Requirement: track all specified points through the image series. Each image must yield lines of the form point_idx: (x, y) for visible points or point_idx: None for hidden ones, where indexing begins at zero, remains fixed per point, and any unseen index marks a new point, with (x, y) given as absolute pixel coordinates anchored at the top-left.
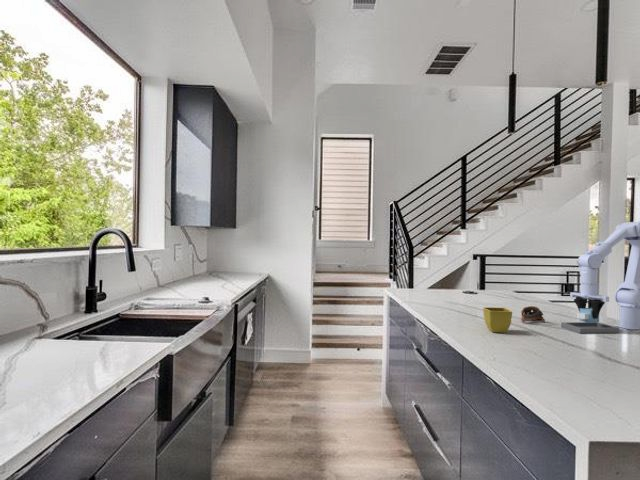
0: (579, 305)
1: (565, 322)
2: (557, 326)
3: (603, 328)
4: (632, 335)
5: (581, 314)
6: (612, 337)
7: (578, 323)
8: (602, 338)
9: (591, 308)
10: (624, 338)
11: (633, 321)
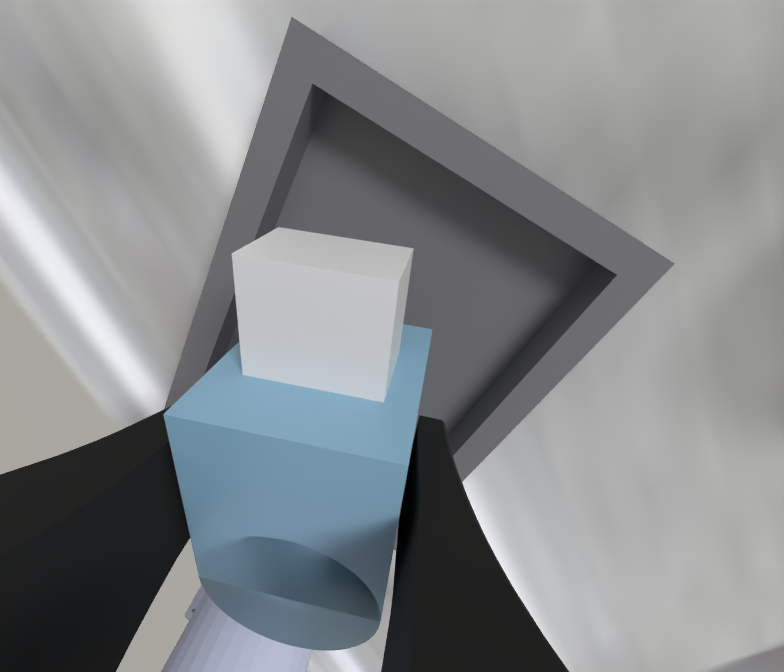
0: (430, 563)
1: (621, 311)
2: (699, 259)
3: (195, 316)
4: (104, 397)
5: (308, 257)
6: (78, 179)
7: (493, 406)
8: (58, 9)
9: (312, 607)
10: (27, 232)
11: (195, 623)
